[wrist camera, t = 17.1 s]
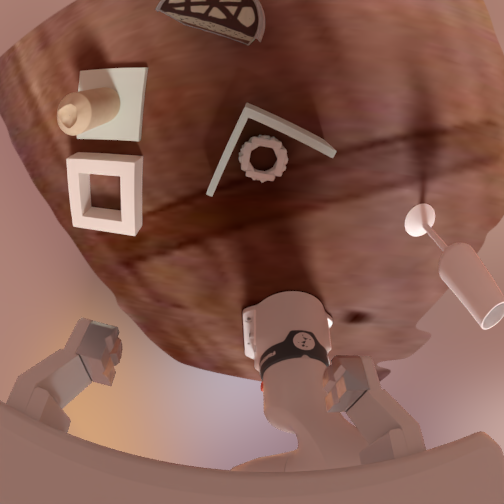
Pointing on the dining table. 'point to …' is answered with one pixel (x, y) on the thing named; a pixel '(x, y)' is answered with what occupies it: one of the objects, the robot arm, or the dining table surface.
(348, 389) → the robot arm
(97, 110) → the candle
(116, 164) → the pocket block
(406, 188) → the dining table surface
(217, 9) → the food container
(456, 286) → the champagne flute
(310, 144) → the l-shaped corner panel
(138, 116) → the cream tile
